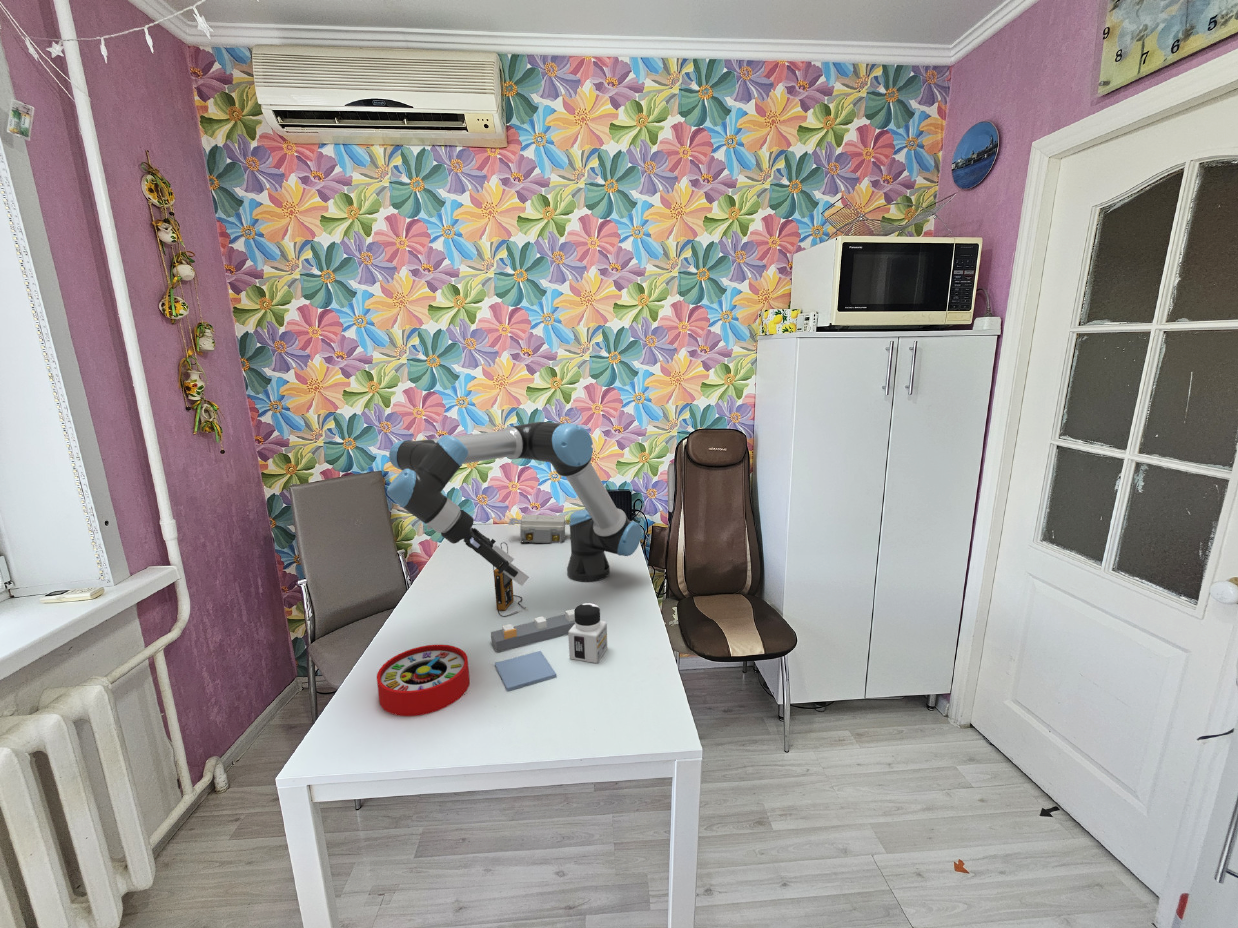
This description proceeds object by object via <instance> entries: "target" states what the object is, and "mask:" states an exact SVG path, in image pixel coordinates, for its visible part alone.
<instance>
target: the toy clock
mask: <svg viewBox="0 0 1238 928" xmlns="http://www.w3.org/2000/svg"><path fill="white" fill-rule="evenodd" d="M468 657H469V656H468V655H467V654H466V652H465V651H464V650H462V649H461V648H459V647H457V646H453V645H451V644H450V645H449V644H428V645H421V646H417V647H413V648H410V649H408V650H404V651H403V652H400V653H398V654H396V655H394V656H392V657H391V658H390V659H388V660H387V661H386V662H385V663H383V664H382V665H381V667H380V668H379V669H378V671H377V672H376V673H377V675H376V684H377V692H378V701H379V705H380V706H381V709H383V710H384V711H385V712H387V713H388V714H391V715H395V716H400V717H416V716H422V715H428V714H432V713H435V712H438V711H441V710H443V709H445V708H447V707H449V706H451V705H452V704H454V703H456V702H457V701H458V700H459V699H460V698H462V696H464V695H465V693H466V692H467V690H468V688H469V686H470V680H471V679H470V671H469V670H470V669H469V659H468Z"/></svg>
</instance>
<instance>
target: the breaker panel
mask: <svg viewBox="0 0 1238 928" xmlns="http://www.w3.org/2000/svg"><path fill="white" fill-rule="evenodd" d="M574 610H575V609H573V608H572V609H568V610H564V611H565V613H564V614H560V615H556V616H551V617H546V618H545V617H544V616H538V617H535V618H534V621H531V622H527V623H523V624H519V625H515V626H513V624H511V623H509V624H505V625H502V629H498V630H493V631H491V632H490V638H491V639H490V640H491V641H490V642H491V644H492V646H493V648H494V650H495V652H496V653H501V652H505V651H509V650H513V649H516V648H520V647H524V646H528V645H532V644H535V643H539V642H543V641H547V640H551V639H554V638H560V637H562V636H566V635H568V632H569V630H570V629H571V628H572V627H573V625H574V624H575V614H574Z"/></svg>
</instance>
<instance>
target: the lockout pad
mask: <svg viewBox="0 0 1238 928" xmlns="http://www.w3.org/2000/svg"><path fill="white" fill-rule="evenodd" d="M494 667H495V669H496V672H497V673H498V676H499V677H500V680H501V682H502V684H503V686H504V687H505V690H506V691H507V692H510V691H513V690H517V689H521V688H523V687H527V686H530V685H534V684H537V683H542V682H545V681H548V680H551V679H555V678H557V676H558V675H557V673H556V671H555V669H554V668H553V667H552V665H551V664H550V662H549V661H548V660H547V658H546V657H545V655H544V654H543V652H542V650H537V651H534V652H531V653H527V654H523V655H519V656H516V657H513V658H512V657H511V658H509V659H503V660H502V661H498V662H494Z"/></svg>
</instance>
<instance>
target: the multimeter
mask: <svg viewBox="0 0 1238 928" xmlns="http://www.w3.org/2000/svg"><path fill="white" fill-rule="evenodd" d="M502 544H505V546H506V548H507V552H506V553H508V554H509V547H508V546H509V545H508V544H507V543H506V542H504V541H503V542H501V543H500V548H501V549H502V550H503V547H502ZM501 565H502V564H501ZM501 565H500V566H501ZM492 569H493V579H494V582H493V583H494V591H495V604H496V605H495V607H496V610H497V613H498V614H499V616H500V617H504V618H505V617H509V616H512V615H515V614H518V613H519V612H522V611H523V609H524V610H526V611H528V609H527V607H525V606H524V605H523V604H521V603H522V601H523V597H521V596H519V595H514V585H513V584H514V582H513V579H511V578H510V577H509V576H507V575H506V574H505V573H503V572H502V573H501V574H499V573H498V571H499V570H498V569H497V568H495V567H494V566H493V565H492ZM514 597H516V598H517V597H518V598H521V600H520V601H518V602H517V604H518V605H519V606H521V608H522V609H521V610H516V611H514V612H511V613H509V614H507V615H502V614H501V612H500V611H506V610H507V609H508V607H509V606H510V605H511V604H512V603H513V602H514Z"/></svg>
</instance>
